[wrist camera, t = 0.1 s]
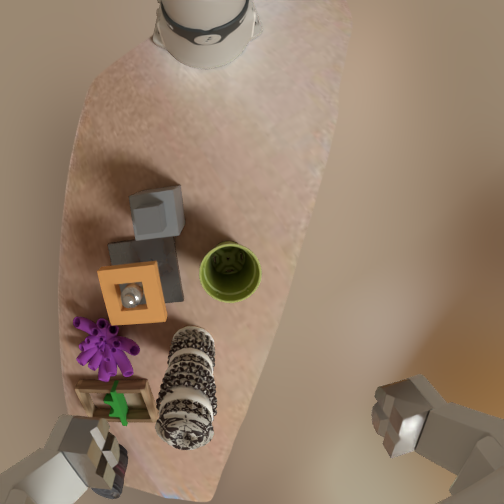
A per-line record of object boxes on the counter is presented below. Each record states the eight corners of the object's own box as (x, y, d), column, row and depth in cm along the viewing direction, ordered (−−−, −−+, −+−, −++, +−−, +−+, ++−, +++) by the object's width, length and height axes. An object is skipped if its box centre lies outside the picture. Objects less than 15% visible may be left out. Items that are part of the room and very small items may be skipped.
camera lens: (133, 448, 68) (124, 491, 54) (125, 461, 70) (116, 502, 56) (105, 436, 67) (92, 478, 52) (99, 450, 68) (86, 490, 54)
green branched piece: (105, 379, 61) (99, 391, 57) (119, 380, 62) (114, 392, 58) (116, 413, 64) (112, 425, 60) (130, 414, 65) (126, 426, 60)
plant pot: (252, 227, 56) (258, 239, 47) (258, 278, 58) (264, 298, 50) (198, 235, 55) (194, 248, 47) (206, 286, 58) (204, 306, 50)
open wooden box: (79, 379, 61) (74, 388, 58) (147, 379, 62) (144, 389, 59) (93, 411, 64) (90, 420, 61) (158, 412, 65) (156, 422, 62)
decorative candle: (178, 367, 62) (165, 461, 38) (163, 329, 59) (138, 421, 35) (221, 358, 62) (226, 454, 38) (208, 319, 60) (205, 411, 36)
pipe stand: (109, 242, 54) (81, 266, 41) (173, 234, 55) (160, 257, 42) (123, 304, 57) (101, 340, 44) (184, 298, 58) (175, 336, 45)
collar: (101, 266, 45) (97, 271, 43) (156, 260, 46) (154, 264, 44) (114, 319, 48) (111, 325, 46) (167, 315, 48) (165, 321, 46)
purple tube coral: (124, 304, 61) (143, 329, 54) (118, 362, 64) (136, 390, 58) (71, 306, 53) (84, 335, 46) (71, 368, 56) (85, 399, 50)
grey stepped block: (142, 190, 52) (120, 199, 40) (180, 185, 52) (168, 192, 40) (148, 228, 54) (128, 247, 41) (185, 223, 54) (175, 242, 42)
